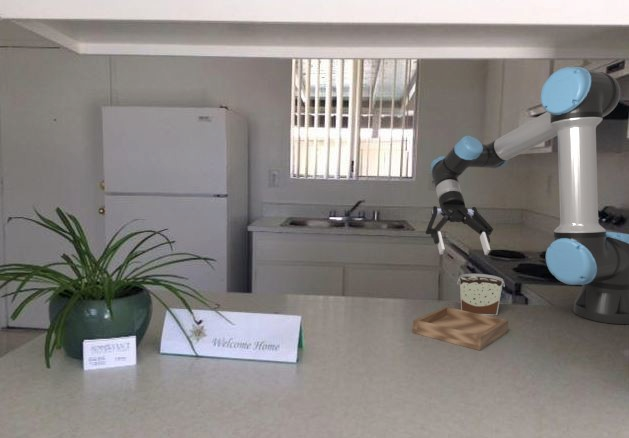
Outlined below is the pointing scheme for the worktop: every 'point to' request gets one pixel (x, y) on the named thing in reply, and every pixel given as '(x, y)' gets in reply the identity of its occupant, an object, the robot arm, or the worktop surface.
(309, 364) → the worktop surface
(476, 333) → the walnut pocket tray
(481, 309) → the food container
